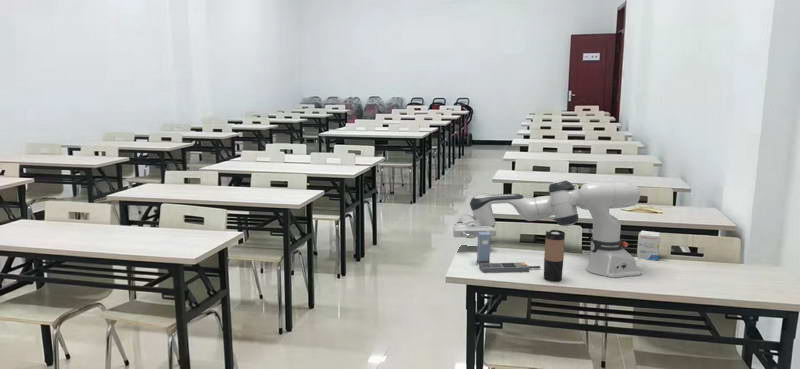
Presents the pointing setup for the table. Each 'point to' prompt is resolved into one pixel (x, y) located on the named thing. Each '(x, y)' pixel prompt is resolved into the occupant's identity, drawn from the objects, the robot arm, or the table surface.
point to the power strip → (504, 267)
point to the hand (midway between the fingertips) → (477, 236)
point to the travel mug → (554, 255)
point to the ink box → (649, 245)
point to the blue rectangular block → (483, 247)
